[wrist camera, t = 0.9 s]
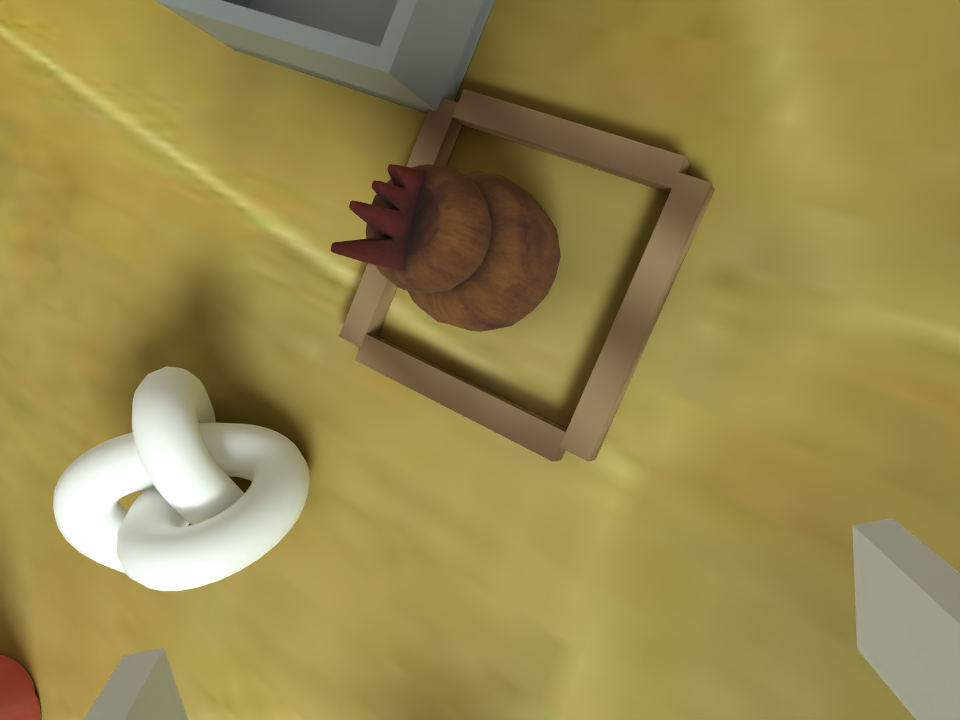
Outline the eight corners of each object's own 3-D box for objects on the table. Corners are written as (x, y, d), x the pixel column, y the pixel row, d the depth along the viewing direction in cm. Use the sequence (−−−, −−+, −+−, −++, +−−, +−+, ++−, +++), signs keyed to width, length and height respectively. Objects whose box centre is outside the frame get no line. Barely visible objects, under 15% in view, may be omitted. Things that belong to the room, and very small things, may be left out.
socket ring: (450, 90, 40) (439, 81, 39) (721, 174, 34) (718, 166, 33) (346, 350, 42) (333, 349, 41) (588, 474, 36) (581, 476, 35)
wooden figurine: (521, 359, 38) (353, 328, 24) (438, 297, 40) (239, 234, 26) (599, 243, 36) (470, 140, 23) (509, 185, 38) (340, 58, 25)
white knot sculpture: (362, 419, 41) (250, 420, 33) (299, 625, 42) (174, 676, 34) (211, 357, 46) (80, 344, 37) (157, 544, 46) (16, 571, 38)
